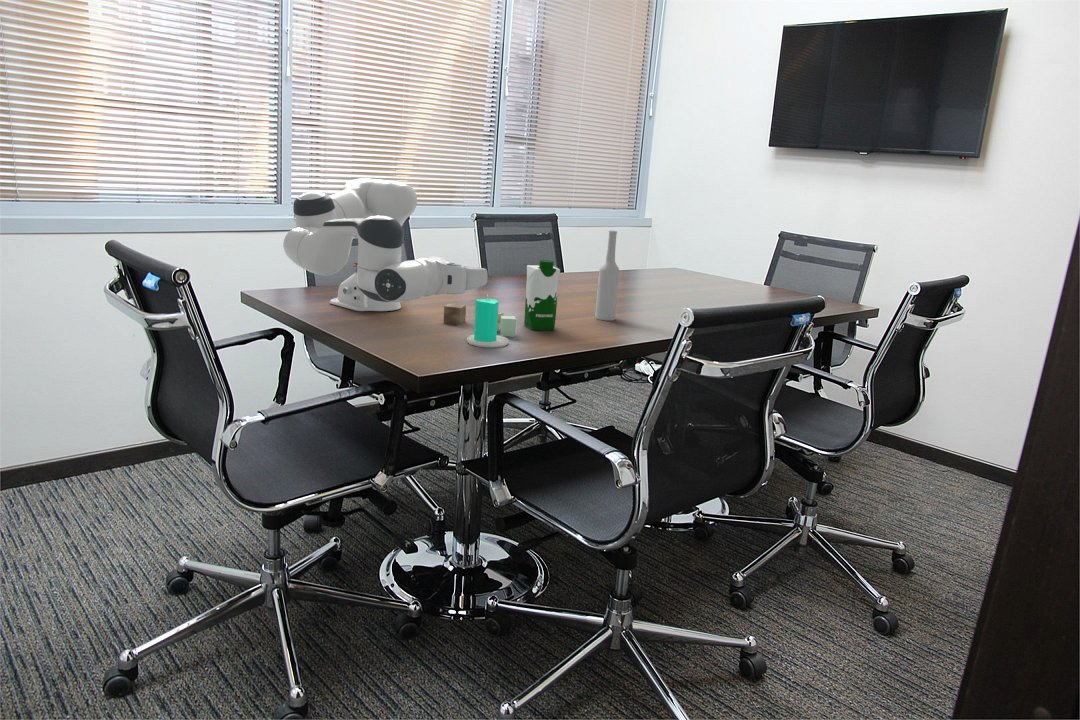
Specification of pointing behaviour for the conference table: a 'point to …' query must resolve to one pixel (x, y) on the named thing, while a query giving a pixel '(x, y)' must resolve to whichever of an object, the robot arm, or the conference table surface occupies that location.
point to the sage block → (508, 326)
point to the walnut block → (454, 313)
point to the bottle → (608, 283)
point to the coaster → (499, 342)
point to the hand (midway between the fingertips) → (464, 268)
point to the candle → (486, 320)
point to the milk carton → (541, 296)
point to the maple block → (499, 320)
